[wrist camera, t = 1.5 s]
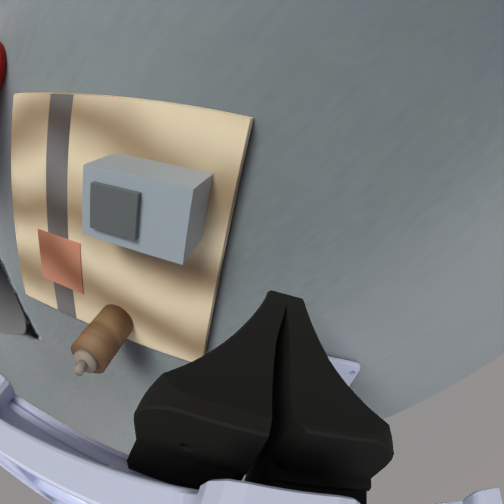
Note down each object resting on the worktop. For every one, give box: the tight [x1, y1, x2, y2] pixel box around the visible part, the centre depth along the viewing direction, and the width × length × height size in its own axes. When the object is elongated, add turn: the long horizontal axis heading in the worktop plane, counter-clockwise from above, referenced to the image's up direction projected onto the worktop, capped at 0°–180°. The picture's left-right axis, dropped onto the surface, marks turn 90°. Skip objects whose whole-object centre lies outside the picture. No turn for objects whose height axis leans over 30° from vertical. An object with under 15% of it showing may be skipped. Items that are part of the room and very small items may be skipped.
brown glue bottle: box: [71, 304, 133, 376], centre depth 23 cm, size 3×3×7 cm
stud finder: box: [82, 153, 213, 265], centre depth 19 cm, size 4×7×4 cm, turn 77°
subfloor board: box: [11, 92, 254, 362], centre depth 23 cm, size 20×20×1 cm
